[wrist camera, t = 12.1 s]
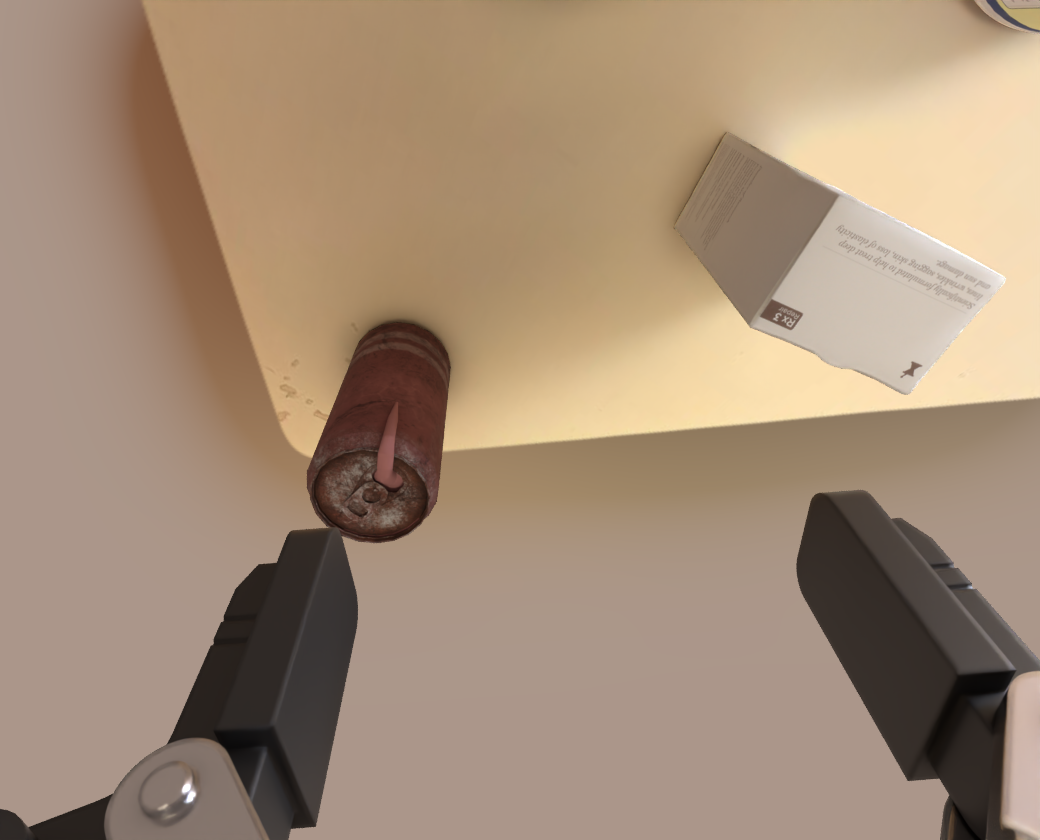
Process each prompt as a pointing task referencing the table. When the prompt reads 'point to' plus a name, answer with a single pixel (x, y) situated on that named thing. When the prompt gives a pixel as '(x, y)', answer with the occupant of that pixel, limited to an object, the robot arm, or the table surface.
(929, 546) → the robot arm
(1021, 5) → the supplement tub
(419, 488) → the can
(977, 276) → the cosmetic box
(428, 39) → the table surface
